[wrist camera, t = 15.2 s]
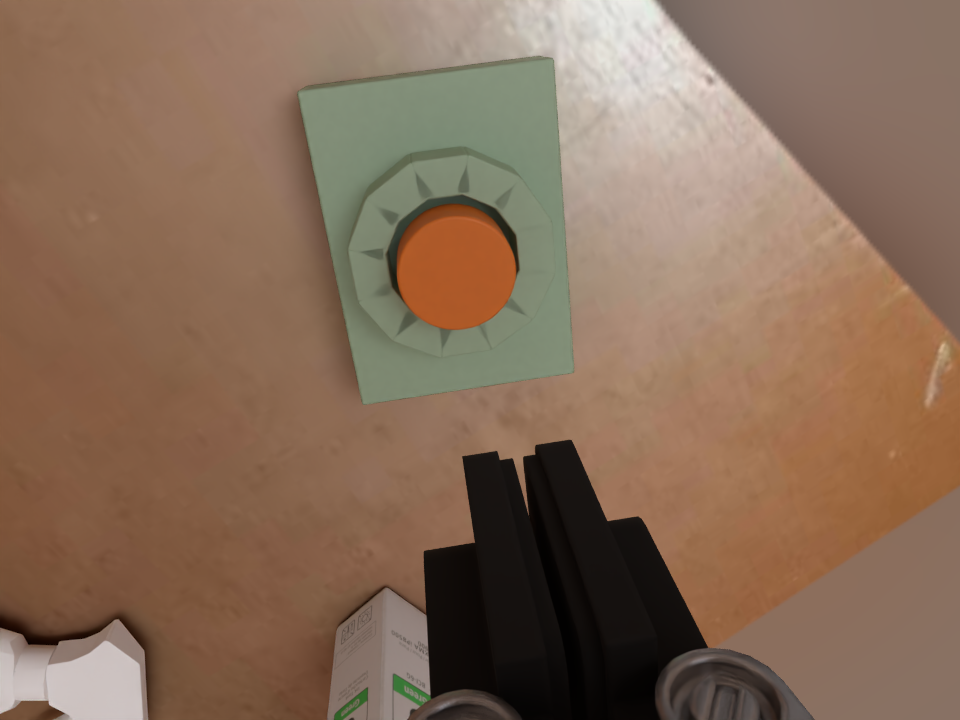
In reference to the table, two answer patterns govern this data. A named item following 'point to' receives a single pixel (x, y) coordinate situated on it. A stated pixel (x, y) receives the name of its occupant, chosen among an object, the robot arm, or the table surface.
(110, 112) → the table surface
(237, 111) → the table surface
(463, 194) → the green button plate
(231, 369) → the table surface
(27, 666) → the spray bottle
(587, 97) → the table surface
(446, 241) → the push button switch
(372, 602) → the ink box
